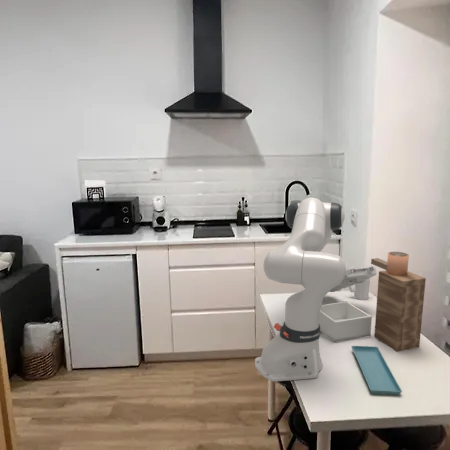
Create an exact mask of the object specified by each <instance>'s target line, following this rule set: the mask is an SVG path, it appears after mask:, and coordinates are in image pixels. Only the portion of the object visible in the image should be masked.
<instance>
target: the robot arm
mask: <svg viewBox="0 0 450 450" xmlns="http://www.w3.org/2000/svg"><path fill="white" fill-rule="evenodd" d="M285 221H286V224H287V226H288V227H289V228H290V229H291V232H290V236H289V237H288V239H287V240H286V241H285V242H284V243H283V244H282V245H280V246H278V247H277V248H275V249H272V250H270V251H269V252H268V253H267V254H266V256H265V257H264V260H263V272H264V275H265V276H266V277H267V278H268V280H270V281H273V282H274V281H275V282H277V283H281V284H287V285H288V284H289V285H299V286H300V285H301V286H302V287H303V288H304V289H302V290H300V291H299V292H296V293H293V294H292V295H289V297H288V298H287V299H286V301H285V303H284V304H285V308H284V311H285V312H284V321H283V323H282V325H280V323H278V322H277V323H275V324H274V326H273V328H274V329H275V330H276V331H279V333H278V334H277V335H276V336H274V337H273V338H272V339H271V340H269V341H268V342H267V343H265V344H264V346H263V348H262V350H261V351H262V352H261V356H257V357H256V358H255V359H254V366H255V367H254V368H255V369H256V370H257V372H258V374H260V375H261V376H262V377H264V378H265V379H266V380H268V381H270V382H284V381H285V382H286V381H297V380H309V379H310V380H311V379H316V378H318V376H319V372H320V371H321V370H322V368H323V362H322V358H321V352H320V350H321V349H320V341H319V340H320V337H321V332H320V324H319V317H320V308H321V305H323V302H324V298H325V297H326V296H327V295H328V294H329V293H335V292H338V291H341V290H342V289H346V288H349V287H350V286H351V287H352V286H355V284H357V283H362V282H365V280H366V279H369V278H370V279H371V278H372V277H375V276H376V275H377V269H376V267H375V265H373V266H366V267H365V266H364V267H352V266H346V264H345V261H344V260H343V258H342V257H341V255H338V254H334V253H330V252H326V251H323V249H324V248H325V247H326V246H327V244H328V243H329V242H330V240H331V238H332V234H333V231H335V230H336V231H337V230H340V228H342V227H343V224H344V222H345V211H344V209H343V206H342V204H340V203H336V202H333V201H331V202H323V201H321V199H319V198H316V197H307V198H304V199H303V200H301V201H300V202H297V201H296V202H293V203H290V204H289V205H288V206H287V207H286V210H285Z"/></svg>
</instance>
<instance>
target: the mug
mask: <svg viewBox="0 0 450 450" xmlns="http://www.w3.org/2000/svg"><path fill="white" fill-rule="evenodd" d="M370 281H371V278H369V279H366V280H365V282H362V283H357V284H355V285H354V288H352V286H350V287H348V289H349V291H350V293H354V298H355V299H357V300H360V301H362V300H363V301H366V300H368V299H369V294H370V283H371V282H370Z"/></svg>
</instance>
